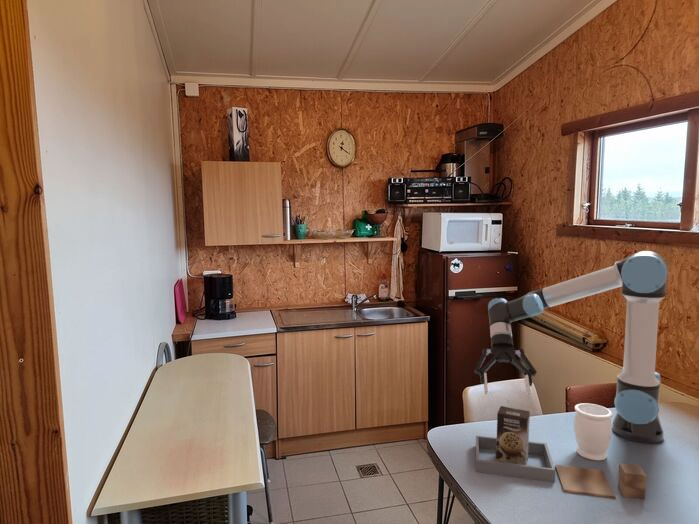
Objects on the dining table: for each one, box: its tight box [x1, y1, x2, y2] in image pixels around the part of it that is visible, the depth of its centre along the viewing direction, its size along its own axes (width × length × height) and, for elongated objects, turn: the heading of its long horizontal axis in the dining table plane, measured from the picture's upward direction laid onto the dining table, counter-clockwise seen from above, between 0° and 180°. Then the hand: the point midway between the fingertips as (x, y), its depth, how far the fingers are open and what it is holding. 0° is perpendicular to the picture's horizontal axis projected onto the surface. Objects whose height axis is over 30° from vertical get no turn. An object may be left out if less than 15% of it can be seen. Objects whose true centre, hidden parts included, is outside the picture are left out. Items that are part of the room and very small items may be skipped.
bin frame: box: [475, 435, 556, 483], centre depth 142 cm, size 22×16×4 cm
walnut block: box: [617, 462, 647, 501], centre depth 125 cm, size 5×5×7 cm
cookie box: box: [495, 405, 531, 465], centre depth 142 cm, size 9×6×16 cm
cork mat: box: [554, 464, 616, 499], centre depth 131 cm, size 13×13×1 cm
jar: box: [573, 402, 613, 461], centre depth 145 cm, size 11×10×15 cm
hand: (507, 393), depth 152 cm, fingers open, 13 cm apart
